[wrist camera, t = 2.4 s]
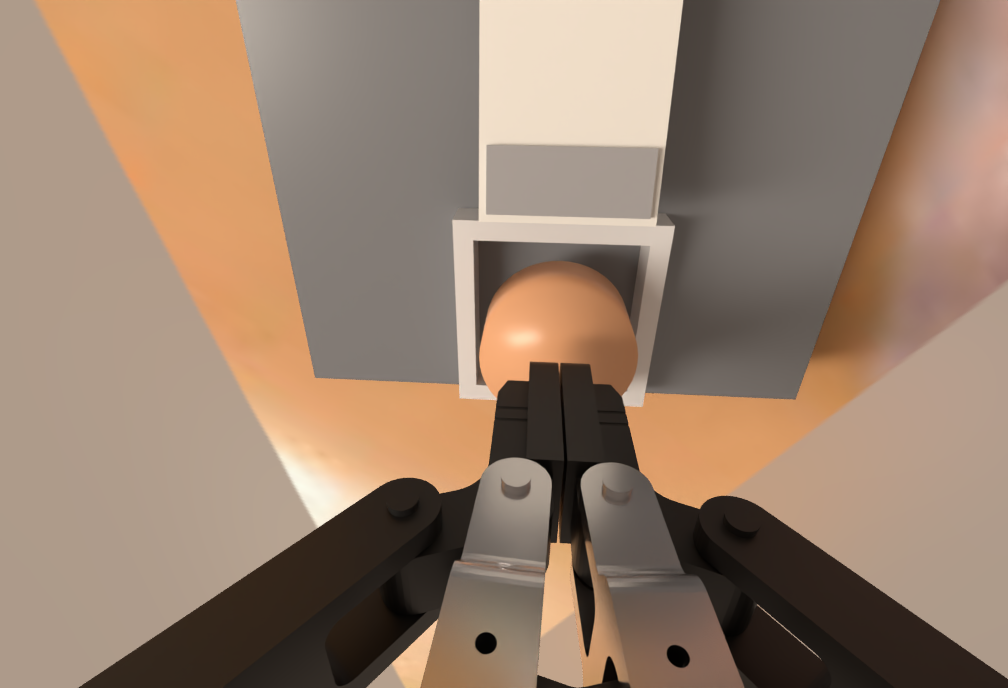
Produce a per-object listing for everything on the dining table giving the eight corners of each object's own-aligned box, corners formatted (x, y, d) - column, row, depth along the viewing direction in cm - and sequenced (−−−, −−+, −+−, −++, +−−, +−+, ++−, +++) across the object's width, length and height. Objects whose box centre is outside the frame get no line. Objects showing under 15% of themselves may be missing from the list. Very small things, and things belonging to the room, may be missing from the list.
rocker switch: (682, -101, 11) (701, -136, 10) (646, 220, 14) (657, 228, 12) (485, -100, 12) (478, -134, 10) (483, 216, 14) (477, 222, 13)
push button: (637, 263, 15) (649, 291, 13) (618, 388, 17) (627, 426, 15) (485, 258, 15) (477, 285, 13) (486, 382, 17) (480, 419, 15)
